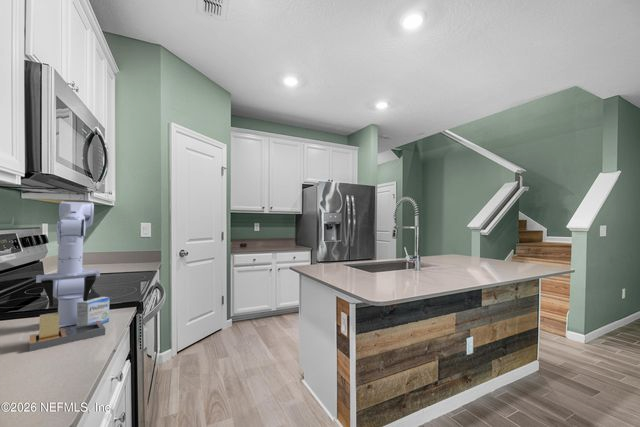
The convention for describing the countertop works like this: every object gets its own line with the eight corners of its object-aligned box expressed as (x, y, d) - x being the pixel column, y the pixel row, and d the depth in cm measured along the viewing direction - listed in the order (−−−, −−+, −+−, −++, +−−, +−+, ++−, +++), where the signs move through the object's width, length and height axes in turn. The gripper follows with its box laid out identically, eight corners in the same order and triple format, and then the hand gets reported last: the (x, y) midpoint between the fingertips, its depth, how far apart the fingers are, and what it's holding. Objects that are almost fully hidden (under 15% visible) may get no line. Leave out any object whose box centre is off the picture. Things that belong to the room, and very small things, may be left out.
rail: (29, 342, 81) (29, 335, 81) (100, 328, 93) (100, 321, 93) (29, 351, 76) (29, 343, 76) (105, 334, 88) (105, 327, 88)
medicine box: (86, 329, 92) (87, 302, 93) (75, 328, 93) (76, 302, 93) (109, 321, 100) (110, 296, 100) (99, 320, 101) (99, 296, 101)
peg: (38, 343, 81) (39, 315, 82) (57, 339, 84) (58, 312, 84) (38, 347, 78) (40, 318, 79) (58, 343, 81) (59, 315, 82)
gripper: (37, 261, 79) (34, 310, 78) (102, 257, 89) (100, 301, 88) (37, 259, 84) (35, 305, 83) (98, 255, 94) (97, 297, 93)
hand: (68, 303), depth 86 cm, fingers open, 7 cm apart
